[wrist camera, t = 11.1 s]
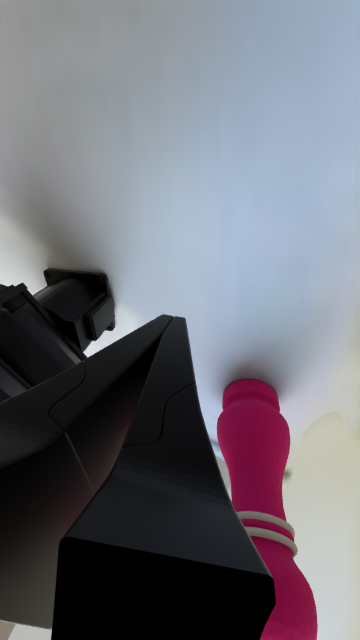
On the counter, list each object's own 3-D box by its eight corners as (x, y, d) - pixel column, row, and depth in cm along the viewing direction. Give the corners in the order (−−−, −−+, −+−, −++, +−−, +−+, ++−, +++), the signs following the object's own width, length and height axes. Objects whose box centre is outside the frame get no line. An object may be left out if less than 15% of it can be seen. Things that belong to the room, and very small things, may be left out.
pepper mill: (291, 408, 28) (376, 758, 11) (236, 421, 31) (239, 709, 15) (266, 367, 25) (327, 746, 9) (207, 385, 28) (173, 688, 12)
